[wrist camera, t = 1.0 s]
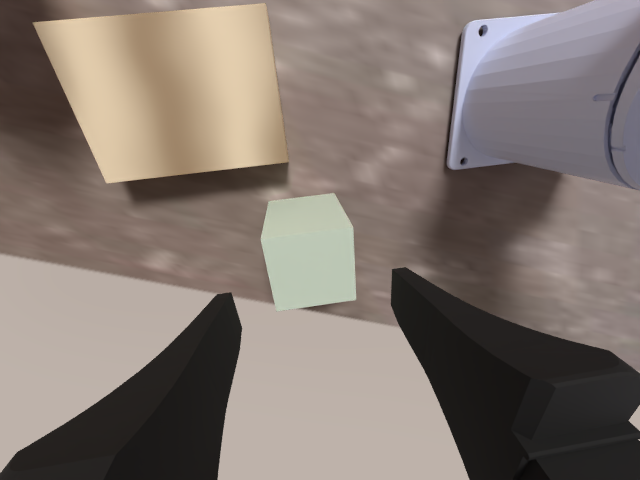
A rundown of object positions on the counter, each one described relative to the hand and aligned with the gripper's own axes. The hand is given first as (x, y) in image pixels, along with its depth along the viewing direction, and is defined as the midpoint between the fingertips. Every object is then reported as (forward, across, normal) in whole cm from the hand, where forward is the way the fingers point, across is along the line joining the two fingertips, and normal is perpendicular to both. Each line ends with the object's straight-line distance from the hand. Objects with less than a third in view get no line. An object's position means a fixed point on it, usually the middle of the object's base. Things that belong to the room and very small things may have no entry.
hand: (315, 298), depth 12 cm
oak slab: (+8, +5, -8) cm, 13 cm away
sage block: (+8, 0, 0) cm, 8 cm away
